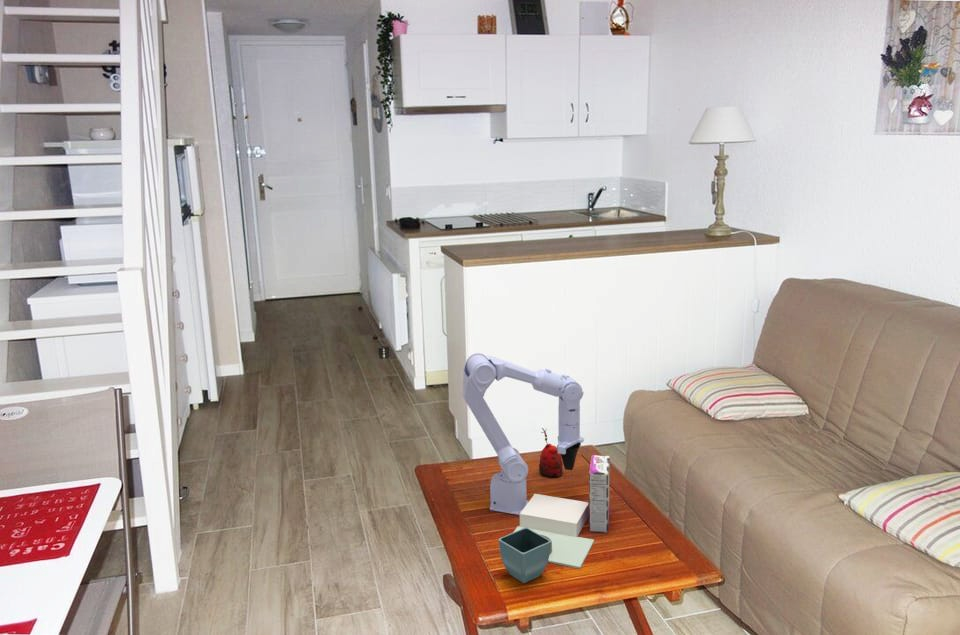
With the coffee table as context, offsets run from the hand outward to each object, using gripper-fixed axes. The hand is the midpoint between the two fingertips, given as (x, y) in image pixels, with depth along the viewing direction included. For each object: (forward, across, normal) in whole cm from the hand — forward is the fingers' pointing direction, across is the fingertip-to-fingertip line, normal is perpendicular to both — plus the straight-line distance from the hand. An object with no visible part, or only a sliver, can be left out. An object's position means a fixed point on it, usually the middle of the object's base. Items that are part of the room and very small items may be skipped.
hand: (568, 468), depth 203 cm
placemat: (+9, -26, -2) cm, 27 cm away
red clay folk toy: (+10, +15, +10) cm, 20 cm away
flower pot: (+10, -39, -1) cm, 40 cm away
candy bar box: (+10, -9, -11) cm, 17 cm away
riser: (+9, -13, 0) cm, 16 cm away
